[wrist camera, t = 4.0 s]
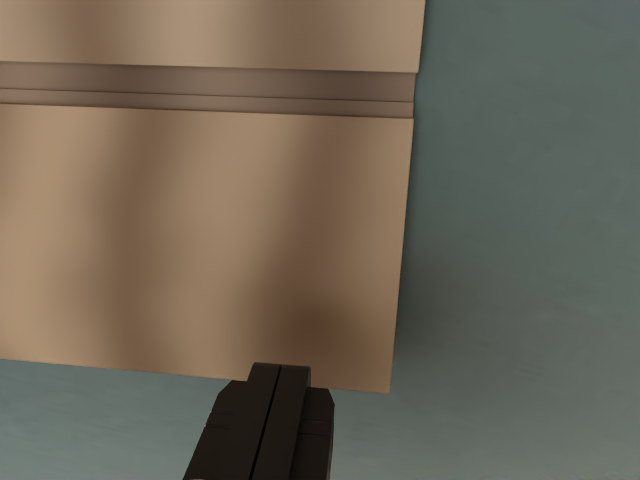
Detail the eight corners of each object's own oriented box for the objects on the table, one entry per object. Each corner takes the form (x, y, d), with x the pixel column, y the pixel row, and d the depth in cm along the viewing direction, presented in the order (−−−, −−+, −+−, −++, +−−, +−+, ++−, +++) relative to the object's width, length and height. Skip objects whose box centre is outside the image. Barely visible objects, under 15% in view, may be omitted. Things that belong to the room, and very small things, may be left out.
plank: (412, 101, 16) (415, 103, 15) (388, 374, 19) (389, 393, 18) (-93, 84, 17) (-125, 85, 16) (-31, 338, 21) (-54, 353, 20)
